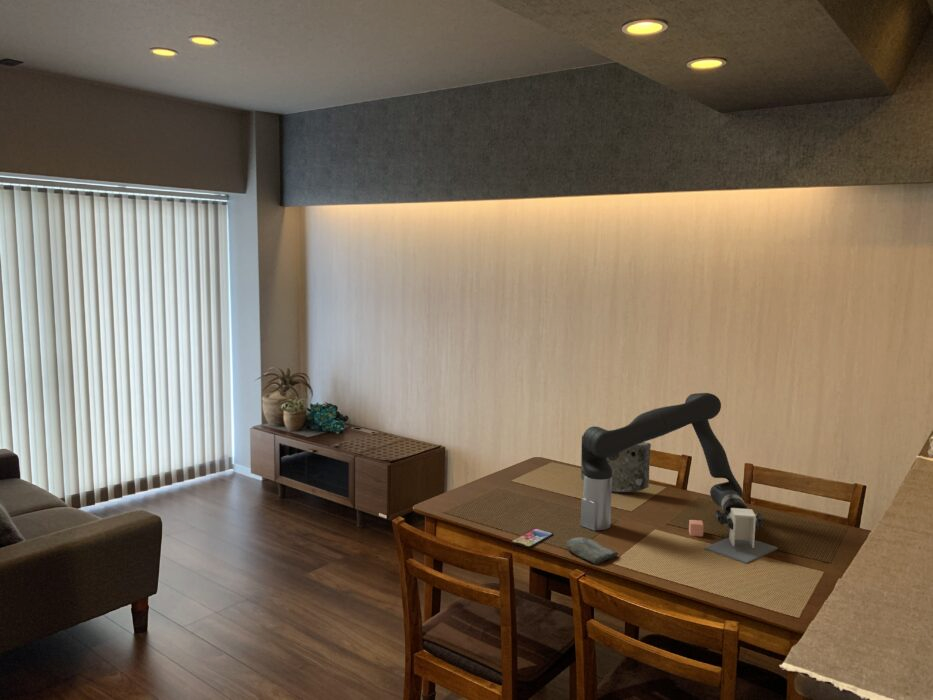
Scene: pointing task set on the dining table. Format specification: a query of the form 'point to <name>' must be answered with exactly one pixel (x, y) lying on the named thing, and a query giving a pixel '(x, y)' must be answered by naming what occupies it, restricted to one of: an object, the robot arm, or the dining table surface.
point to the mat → (741, 549)
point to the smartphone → (531, 538)
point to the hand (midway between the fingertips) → (744, 527)
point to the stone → (590, 550)
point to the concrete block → (629, 468)
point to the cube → (696, 528)
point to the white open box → (742, 525)
